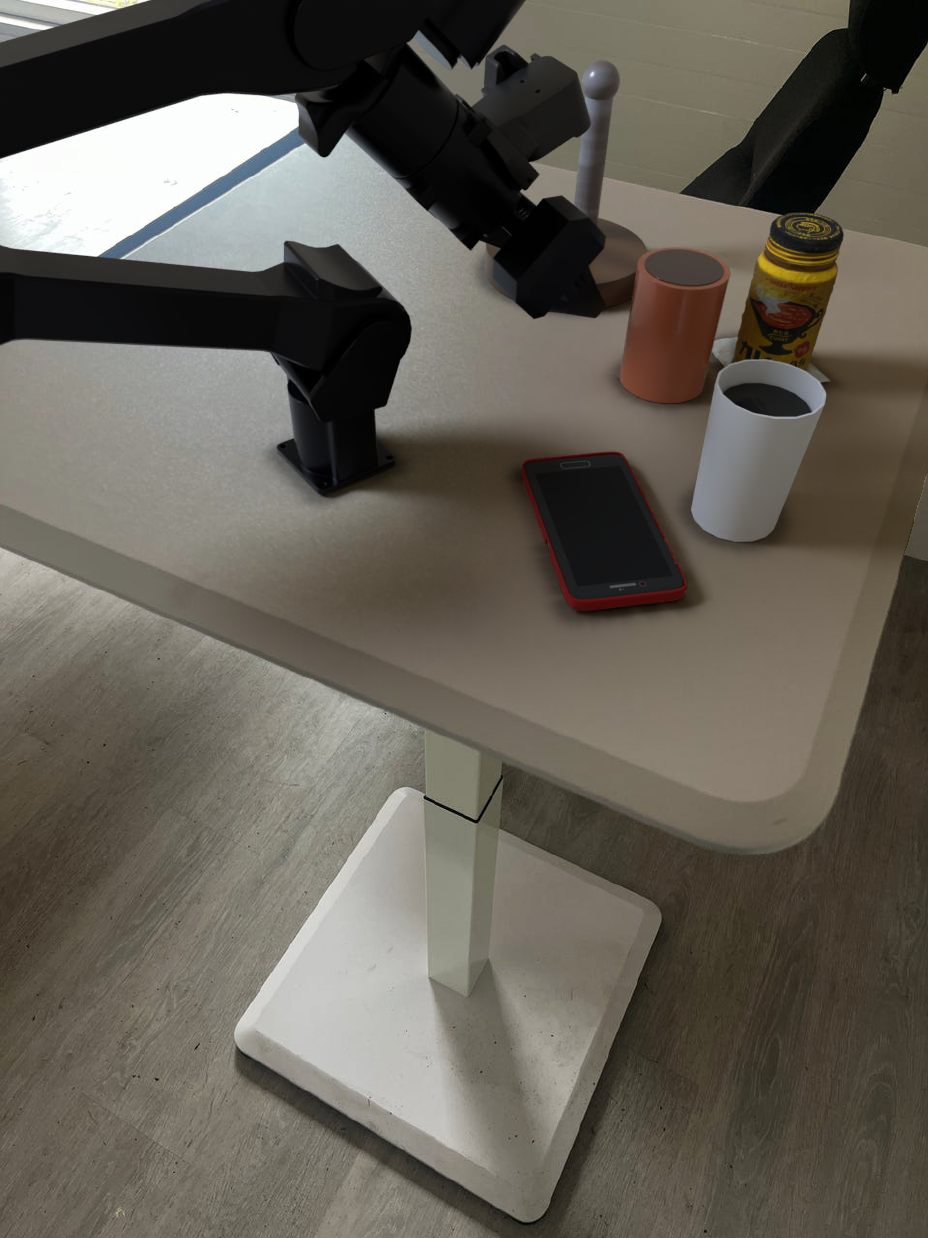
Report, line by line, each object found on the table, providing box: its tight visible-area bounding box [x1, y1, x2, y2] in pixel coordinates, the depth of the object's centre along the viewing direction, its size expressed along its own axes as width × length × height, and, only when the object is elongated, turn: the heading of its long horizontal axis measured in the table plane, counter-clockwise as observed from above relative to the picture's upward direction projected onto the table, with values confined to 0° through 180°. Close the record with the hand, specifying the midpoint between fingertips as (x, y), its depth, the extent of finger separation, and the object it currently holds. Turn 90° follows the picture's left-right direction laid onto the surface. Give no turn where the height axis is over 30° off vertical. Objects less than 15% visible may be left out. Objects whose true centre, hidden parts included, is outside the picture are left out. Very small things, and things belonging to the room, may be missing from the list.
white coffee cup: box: [690, 359, 827, 543], centre depth 61 cm, size 7×7×10 cm
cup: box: [619, 246, 731, 404], centre depth 72 cm, size 7×7×10 cm
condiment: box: [712, 211, 845, 384], centre depth 74 cm, size 7×8×12 cm
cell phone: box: [520, 451, 688, 612], centre depth 62 cm, size 8×15×1 cm, turn 10°
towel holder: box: [484, 59, 648, 309], centre depth 82 cm, size 15×15×17 cm
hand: (567, 281), depth 66 cm, fingers open, 9 cm apart
